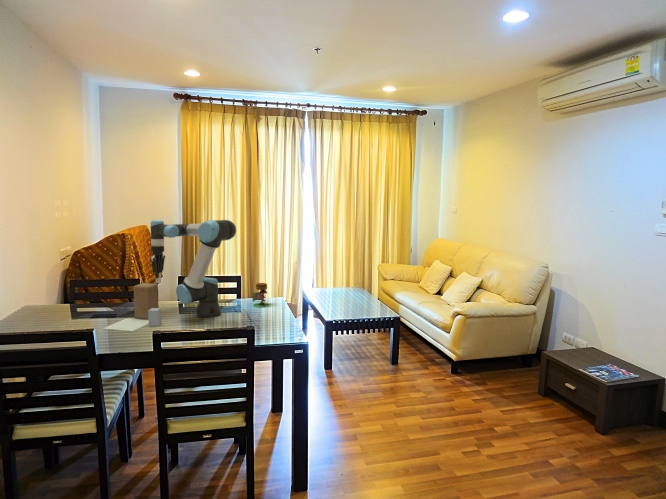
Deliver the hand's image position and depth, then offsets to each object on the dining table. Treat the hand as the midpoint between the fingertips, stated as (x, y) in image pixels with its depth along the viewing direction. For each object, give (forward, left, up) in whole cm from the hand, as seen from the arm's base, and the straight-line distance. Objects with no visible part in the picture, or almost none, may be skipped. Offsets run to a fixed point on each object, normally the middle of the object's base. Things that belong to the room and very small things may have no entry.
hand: (158, 283), depth 261 cm
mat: (0, +29, -18) cm, 34 cm away
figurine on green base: (-56, -32, -19) cm, 67 cm away
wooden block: (0, +13, -19) cm, 23 cm away
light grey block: (-13, +25, -18) cm, 34 cm away
